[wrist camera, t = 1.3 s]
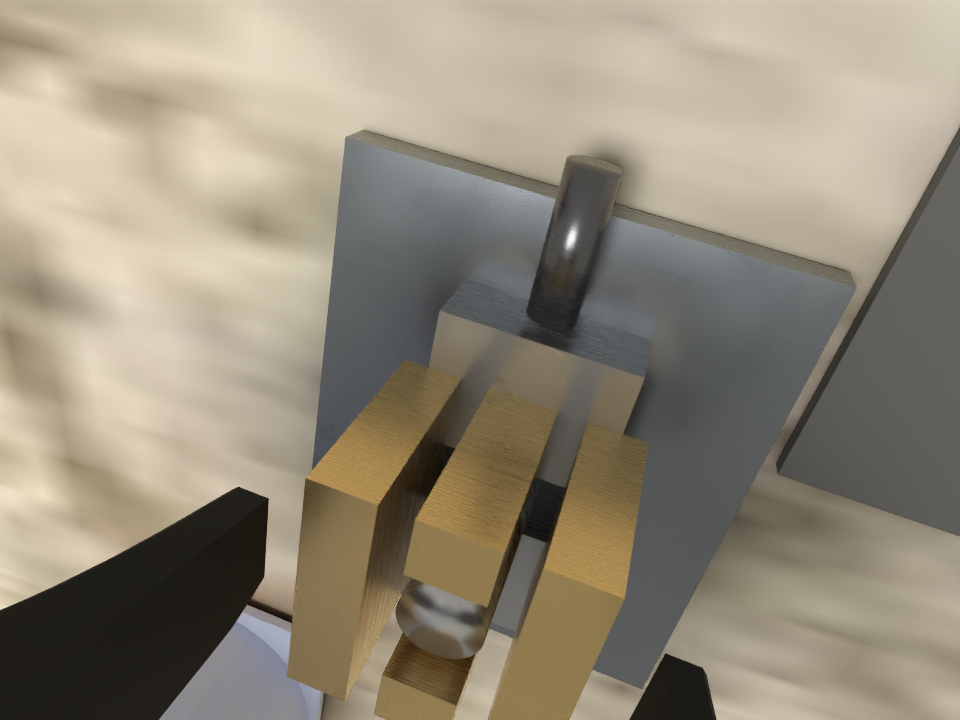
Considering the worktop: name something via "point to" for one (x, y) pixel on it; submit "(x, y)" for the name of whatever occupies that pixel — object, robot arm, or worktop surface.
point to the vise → (571, 357)
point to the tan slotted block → (459, 547)
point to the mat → (897, 378)
